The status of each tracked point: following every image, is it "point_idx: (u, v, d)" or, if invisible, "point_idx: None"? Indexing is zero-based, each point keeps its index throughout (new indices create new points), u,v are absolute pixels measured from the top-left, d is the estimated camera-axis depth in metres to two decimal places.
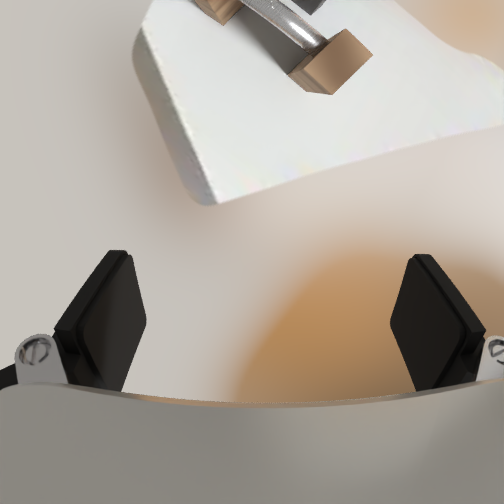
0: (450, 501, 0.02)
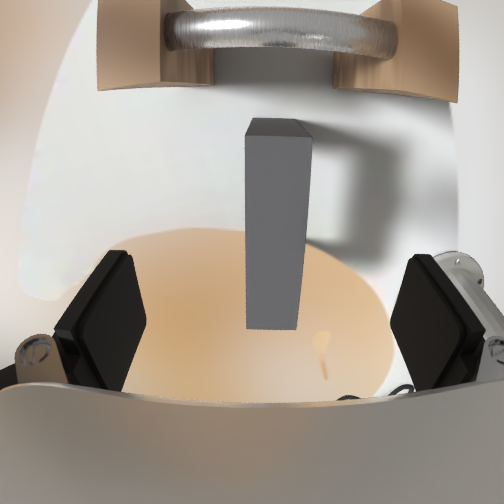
0: (450, 501, 0.02)
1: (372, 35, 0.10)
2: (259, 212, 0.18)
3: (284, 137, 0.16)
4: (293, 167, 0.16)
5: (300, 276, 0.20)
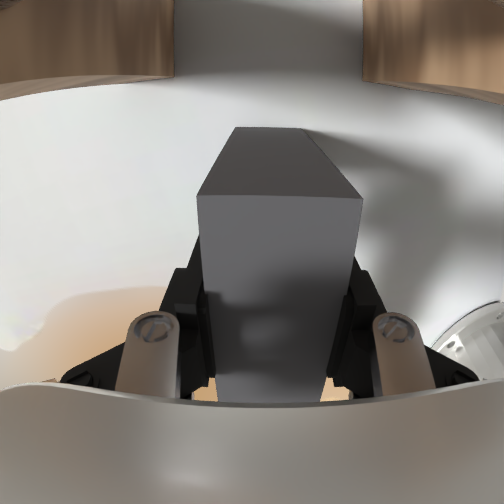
0: (450, 501, 0.02)
1: None
2: (238, 345, 0.09)
3: (295, 198, 0.06)
4: (313, 265, 0.07)
5: None
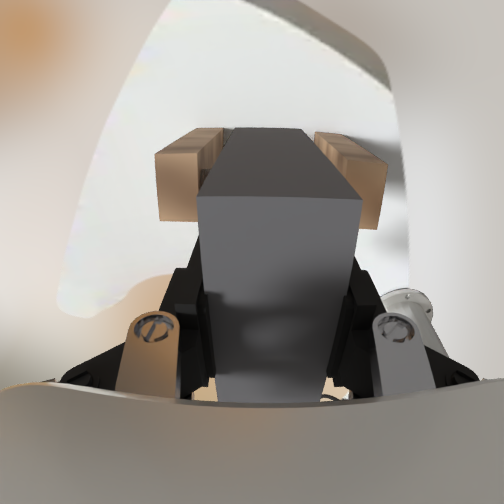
0: (450, 501, 0.02)
1: None
2: (238, 346, 0.09)
3: (295, 199, 0.06)
4: (313, 266, 0.07)
5: None
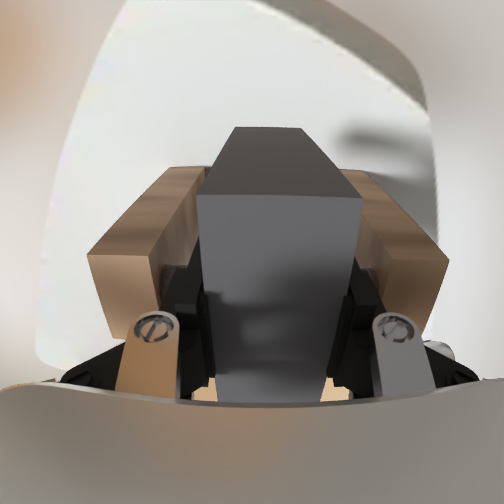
0: (450, 501, 0.02)
1: None
2: (238, 345, 0.09)
3: (295, 198, 0.06)
4: (313, 265, 0.07)
5: None
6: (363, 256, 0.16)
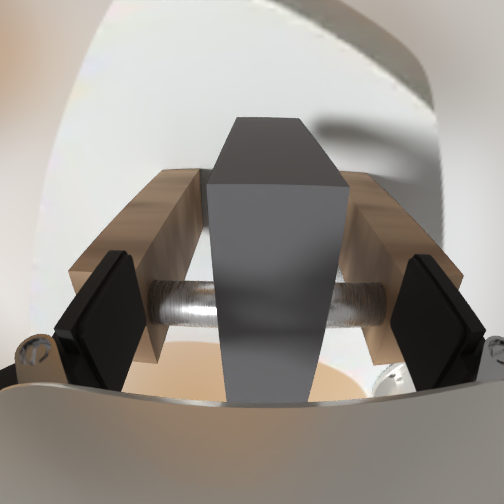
0: (450, 501, 0.02)
1: (357, 322, 0.13)
2: (242, 316, 0.10)
3: (291, 186, 0.08)
4: (307, 244, 0.08)
5: (308, 388, 0.12)
6: (369, 269, 0.15)
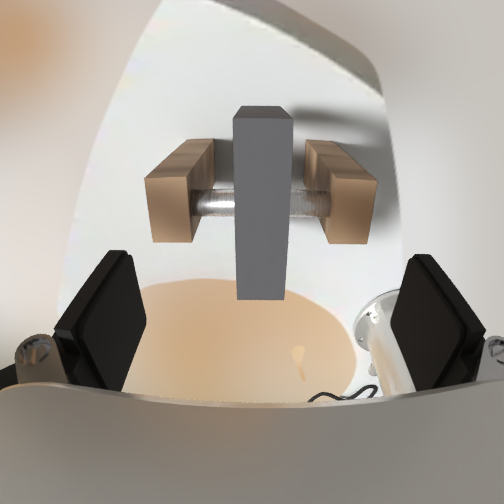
0: (450, 501, 0.02)
1: (314, 210, 0.22)
2: (246, 187, 0.19)
3: (268, 119, 0.17)
4: (276, 146, 0.18)
5: (286, 247, 0.21)
6: (324, 187, 0.24)
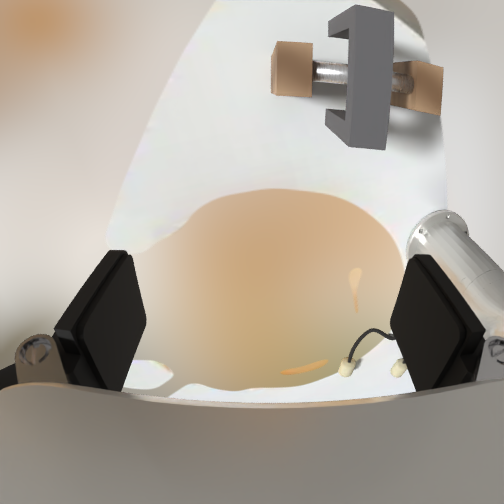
0: (450, 501, 0.02)
1: (402, 84, 0.24)
2: (363, 51, 0.21)
3: (378, 9, 0.19)
4: (384, 27, 0.20)
5: (389, 101, 0.23)
6: None
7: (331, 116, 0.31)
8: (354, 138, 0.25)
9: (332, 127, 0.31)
